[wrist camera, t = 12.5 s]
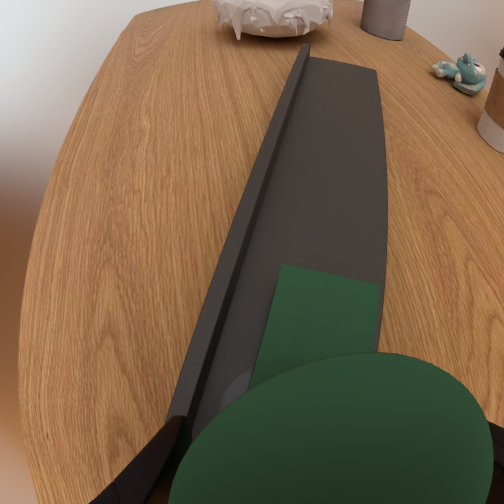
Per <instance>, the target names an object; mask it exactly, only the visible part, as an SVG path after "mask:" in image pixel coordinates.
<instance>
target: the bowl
mask: <svg viewBox="0 0 504 504" xmlns="http://www.w3.org/2000/svg"><path fill="white" fill-rule="evenodd" d="M212 7H213V10H214V13H215V16H216V19H217V22H218V23H219V24H220V25H221V26H222V27H223V24H224V22H226V23H228V24H230V25H231V26H232V27H234V30H235V34H236V37H237V40H240V35H241V32H245V33H248V34H251V35H259V36H266V37H274V38H281V37H293V36H299V35H302V34H303V35H304V34H305V33H307V32H310V31H313V30H314V29H316V28H317V27H318V26H319V25H321V23H322V22H323V21H325V23H326V19H328V22H329V28H330V22H331V20H332V15H333V14H334V13H333V1H332V0H212Z"/></svg>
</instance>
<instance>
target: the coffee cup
mask: <svg viewBox="0 0 504 504" xmlns="http://www.w3.org/2000/svg"><path fill="white" fill-rule="evenodd" d="M499 55H500V56H501V59H500V63H499V66H498V68H496V71H495V75H494V78H493V82H492V85H491V88H490V92H489V95H488V98H487V101H486V104H485V106H484V110H483V112H482V115H481V118H480V120H479V122H478V125H477V130H478V133H479V134H480V136H481V137H482V138H483V139H484V141H485V142H486V143H487V144H489V145H490V146H491V147H492V148H494V149H495V150H497V151H499V152H501V153H504V48H503V49H502V50H501V52H500V54H499Z"/></svg>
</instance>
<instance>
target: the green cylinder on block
mask: <svg viewBox="0 0 504 504" xmlns="http://www.w3.org/2000/svg"><path fill="white" fill-rule="evenodd" d="M379 292H380V285H379V284H375V283H370V282H365V281H361V280H356V279H351V278H347V277H342V276H338V275H333V274H328V273H324V272H319V271H315V270H310V269H306V268H301V267H296V266H292V265H287V264H281V269H280V273H279V277H278V280H277V283H276V286H275V290H274V294H273V298H272V301H271V305H270V309H269V313H268V317H267V320H266V324H265V328H264V332H263V335H262V339H261V343H260V347H259V350H258V354H257V357H256V361H255V365H254V368H253V372H252V375H251V379H250V382H249V386H248V389H247V392H245V393H244V394H242V395H241V396H239V397H238V398H237V399H235V400H234V401H233V402H232V403H230V404H229V405H228V406H227V407H225V408H224V409H223V410H222V411H220V412H219V413H218V414H217V415H216V416H215V417H214V418H213V419H212V420H211V421H210V422H209V423H208V424H207V425H206V426H205V427H204V429H203V430H202V431H201V432H200V434H199V435H198V436H197V438H196V439H195V440H194V441H193V443H192V444H191V445H190V447H189V449H188V450H187V452H186V454H185V456H184V457H183V459H182V461H181V463H180V464H179V467H178V469H177V472H176V475H175V477H174V480H173V482H172V487H171V492H170V496H169V501H168V504H485V503H486V500H487V497H488V493H489V490H490V486H491V481H492V475H493V462H494V452H493V443H492V437H491V433H490V429H489V425H488V422H487V420H486V417H485V415H484V413H483V411H482V409H481V407H480V405H479V404H478V402H477V401H476V399H475V398H474V396H473V395H472V394H471V393H470V392H469V391H468V389H467V388H466V387H465V386H464V385H463V384H462V383H461V382H459V381H458V380H457V379H456V378H454V377H453V376H452V375H450V374H449V373H447V372H446V371H444V370H442V369H440V368H439V367H437V366H435V365H433V364H431V363H428V362H425V361H423V360H420V359H417V358H414V357H409V356H405V355H400V354H395V353H383V352H372V349H373V342H374V335H375V328H376V320H377V312H378V302H379Z"/></svg>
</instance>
